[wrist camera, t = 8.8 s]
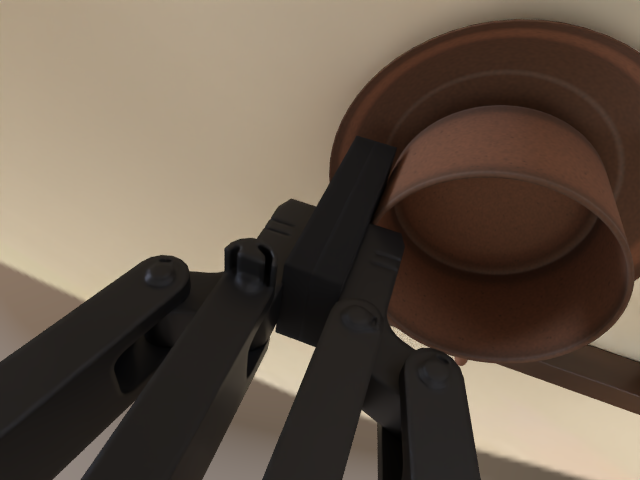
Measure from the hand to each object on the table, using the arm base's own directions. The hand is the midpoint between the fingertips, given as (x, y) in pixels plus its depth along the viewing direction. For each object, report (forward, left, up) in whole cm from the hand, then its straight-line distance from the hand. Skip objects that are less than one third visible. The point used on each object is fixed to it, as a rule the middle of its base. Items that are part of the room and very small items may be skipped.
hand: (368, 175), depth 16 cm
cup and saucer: (+4, 0, -3) cm, 5 cm away
